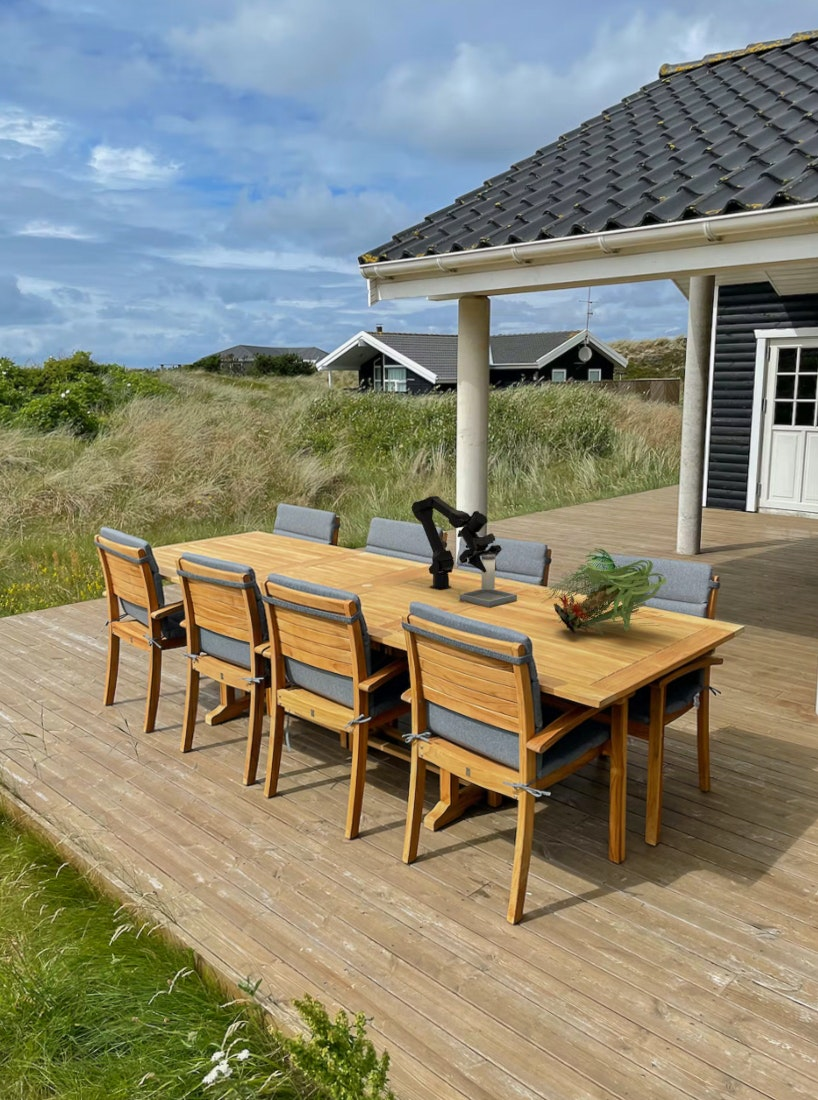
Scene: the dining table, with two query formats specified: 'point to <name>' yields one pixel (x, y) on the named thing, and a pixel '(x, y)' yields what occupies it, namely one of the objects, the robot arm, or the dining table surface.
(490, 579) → the shaker
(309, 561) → the dining table surface
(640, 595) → the plant
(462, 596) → the tray
